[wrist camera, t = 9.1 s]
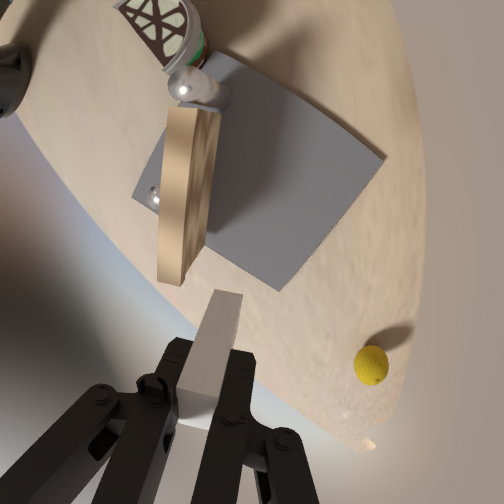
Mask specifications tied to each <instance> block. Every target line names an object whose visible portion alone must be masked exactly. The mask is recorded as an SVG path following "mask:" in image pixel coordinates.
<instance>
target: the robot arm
mask: <svg viewBox="0 0 504 504" xmlns="http://www.w3.org/2000/svg"><path fill="white" fill-rule="evenodd" d="M12 2H13V0H0V20H1V18H2V17H3V15H4V13H5V12H6V10H7V8H8V7H9V5H10V4H12ZM30 72H31V54H30V50H29V48H28V47H27V46H26V45H25V44H22V43H10V44H7V45H3V46H0V119H1V118H6V117H8V116H10V115H11V114H12V113H13V112H14V111H15V110H16V108H17V107H18V105H19V104H20V102H21V100H22V98H23V96H24V94H25V91H26V88H27V85H28V81H29V77H30ZM242 298H243V295H242V294H237V293H232V292H227V291H222V290H217V289H215V290H214V292H213V294H212V297H211V299H210V302H209V304H208V307H207V309H206V312H205V314H204V317H203V319H202V322H201V324H200V327H199V329H198V332H197V334H196V337H195V340H194V341H190V340H186V339H182V338H178V337H176V338H175V339H174V340H172V341H171V342H170V343H169V344H168V346H167V348H166V350H165V353H164V354H163V356H162V359H161V360H160V362H159V364H158V366H157V368H156V371H155V373H150V374H145V375H143V376H141V377H140V378H139V379H138V380H137V381H136V384H137V388H138V392H136V393H120V392H116V390H115V389H114V388H113V387H112V386H109V385H107V384H96V385H94V386H92V387H91V388H89V389H88V390H87V391H86V392H85V393H84V394H83V395H82V396H81V397H80V398H79V399H78V400H77V401H76V402H75V403H74V404H73V405H72V406H71V407H70V408H69V409H68V410H67V411H66V412H65V413H64V414H63V415H62V416H61V417H60V418H59V419H58V420H57V421H56V422H55V423H54V424H53V425H52V426H51V427H50V428H49V429H48V430H47V431H46V432H45V433H44V434H43V435H42V436H41V437H40V438H39V439H38V440H37V441H36V442H35V443H34V444H33V445H32V446H31V447H30V448H29V449H28V450H27V451H26V452H25V453H24V454H23V455H22V456H21V457H20V458H19V459H18V460H17V461H16V462H15V463H14V464H13V466H11V467H10V468H9V469H8V470H7V472H6V473H5V474H4V475H3V476H2V477H1V478H0V504H71V503H72V501H73V500H74V499H75V498H76V497H77V495H78V494H79V493H80V492H81V491H82V490H83V488H84V487H85V486H86V485H87V484H88V483H89V481H90V480H91V479H92V478H93V477H94V475H95V474H96V473H97V472H98V470H99V469H100V468H101V467H102V466H103V465H104V463H105V462H106V461H107V460H108V458H109V457H110V456H111V457H110V459H109V462H108V464H107V467H106V469H105V471H104V473H103V476H102V478H101V481H100V483H99V486H98V488H97V490H96V493H95V495H94V498H93V500H92V503H91V504H153V503H154V500H155V496H156V493H157V490H158V487H159V483H160V480H161V477H162V474H163V471H164V468H165V465H166V461H167V458H168V455H169V452H170V449H171V446H172V443H173V439H174V436H175V430H176V429H175V426H176V424H177V420H178V422H179V423H181V424H185V425H189V426H193V427H197V428H201V429H205V430H209V432H208V436H207V440H206V444H205V448H204V452H203V456H202V460H201V464H200V468H199V472H198V476H197V480H196V484H195V489H194V492H193V496H192V500H191V504H236V502H237V496H238V490H239V484H240V478H241V471H242V465H243V464H244V465H246V466H248V467H250V468H253V469H254V475H255V480H256V487H257V492H258V498H259V504H319V500H318V497H317V494H316V490H315V486H314V483H313V479H312V475H311V472H310V468H309V465H308V461H307V457H306V454H305V450H304V447H303V443H302V440H301V438H300V436H299V434H298V433H296V432H295V431H294V430H292V429H289V428H285V427H279V428H275V429H271V428H269V427H267V426H264V425H262V424H260V423H259V422H257V421H256V420H255V419H254V417H253V416H252V414H251V411H250V403H251V396H252V389H253V382H254V375H255V367H256V360H255V358H254V355H253V353H250V352H245V351H240V350H235V349H233V346H234V341H235V337H236V333H237V327H238V321H239V315H240V309H241V303H242Z"/></svg>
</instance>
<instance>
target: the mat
mask: <svg viewBox="0 0 504 504" xmlns="http://www.w3.org/2000/svg"><path fill="white" fill-rule="evenodd" d="M201 71H203V72H204V73H206V74H208V75H209V76H211V77H212V78H214V79H215V80H217V81H218V82H220V83H221V84H223V85H224V86H226V87H227V88H228V89H230V91H231V92H232V95H233V99H232V102H231V104H230V105H229V106H228V107H227V108H225V109H223V110H216V109H212V108H208V107H205V106H201V105H196V104H192V103H188V102H184V101H181V102H180V104H179V106H178V107H185V108H198V109H203V110H206V111H210V112H215V113H219V114H222V117H221V124H220V130H219V136H218V143H217V150H216V157H215V164H214V171H213V179H212V187H211V194H210V203H209V211H208V220H207V229H206V238H205V246H207V247H209V248H210V249H212V250H213V251H215V252H216V253H218V254H220V255H221V256H223V257H224V258H226V259H227V260H229V261H231V262H232V263H234V264H235V265H237V266H238V267H240V268H242V269H243V270H245V271H246V272H248V273H250V274H251V275H253V276H254V277H256V278H257V279H259V280H261V281H262V282H264V283H265V284H267V285H269V286H270V287H272V288H274V289H275V290H277V291H278V292H280V291H281V289H282V288H283V287H284V286H285V285H286V284H287V282H288V281H289V280H290V279H291V278H292V276H293V275H294V274H295V273H296V272H297V271H298V269H299V268H300V267H301V266H302V265H303V263H304V262H305V261H306V260H307V259H308V257H309V256H310V255H311V254H312V253H313V251H314V250H315V249H316V248H317V246H318V245H319V244H320V243H321V242H322V240H323V239H324V238H325V237H326V235H327V234H328V233H329V232H330V230H331V229H332V228H333V227H334V225H335V224H336V223H337V222H338V220H339V219H340V218H341V217H342V215H343V214H344V213H345V212H346V210H347V209H348V208H349V207H350V205H351V204H352V203H353V201H354V200H355V199H356V198H357V196H358V195H359V194H360V192H361V191H362V190H363V188H364V187H365V186H366V184H367V183H368V182H369V181H370V179H371V178H372V177H373V175H374V174H375V173H376V171H377V170H378V169H379V167H380V166H381V165H382V163H383V162H384V161H382V160H381V159H380V158H379V157H378V156H377V155H376V154H374V153H373V152H372V151H371V150H370V149H368V148H367V147H366V146H365V145H364V144H362V143H361V142H360V141H359V140H357V139H356V138H355V137H354V136H352V135H351V134H350V133H349V132H347V131H346V130H345V129H343V128H342V127H341V126H339V125H338V124H337V123H335V122H334V121H333V120H331V119H330V118H329V117H327V116H326V115H324V114H323V113H322V112H320V111H319V110H317V109H316V108H315V107H313V106H312V105H310V104H309V103H307V102H306V101H304V100H303V99H301V98H300V97H298V96H297V95H295V94H294V93H292V92H290V91H289V90H287V89H286V88H284V87H282V86H281V85H279V84H278V83H276V82H274V81H273V80H271V79H269V78H268V77H266V76H264V75H262V74H261V73H259V72H257V71H255V70H253V69H252V68H250V67H248V66H246V65H244V64H242V63H241V62H239V61H237V60H235V59H233V58H231V57H229V56H227V55H225V54H223V53H221V52H219V51H217V50H214V52H213V53H212V55H211V56H210V57H209V59H208V60H207V62H206V63H205V65H204V66H203V68H202V69H201ZM165 134H166V128H165V130H164V132H163V134H162V136H161V137H160V139H159V141H158V143H157V145H156V147H155V149H154V151H153V153H152V155H151V157H150V159H149V161H148V163H147V165H146V167H145V169H144V171H143V173H142V175H141V177H140V179H139V181H138V184H137V186H136V188H135V190H134V192H133V195H132V198H133V199H135V200H136V201H138V202H139V203H141V204H142V205H144V206H146V207H147V208H149V209H150V210H152V211H153V212H155V213H156V214H158V215H159V210H155V209H153V208H151V207H150V206H149V204H148V203H147V199H146V195H147V192H148V190H149V189H150V188H151V187H153V186H155V185H157V184H159V183H161V174H162V163H163V152H164V143H165Z"/></svg>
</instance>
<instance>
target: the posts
mask: <svg viewBox="0 0 504 504" xmlns="http://www.w3.org/2000/svg"><path fill="white" fill-rule="evenodd" d="M168 90H169V93H170V94H171V96H172V97H173V98H175V99H177V100H179V101H184V102H188V103H192V104H196V105H201V106H205V107H208V108H212V109H216V110H223V109H225V108H227V107H228V106H229V105H230V104H231V102H232V99H233V95H232V92H231V91H230V89H228V88H227V87H226V86H224V85H223V84H221V83H220V82H218V81H217V80H215V79H214V78H212V77H211V76H209V75H208V74H206V73H204V72H203V71H201V70H200V69H198V68H196V67H194V66H182V67H180V68H178V69H176V70H175V71H174V72H173V73H172V74H171V76H170V78H169V81H168ZM160 186H161V183H159V184H157V185H155V186H153V187H151V188H150V189H149V190H148V192H147V195H146V199H147V203H148V204H149V206H150V207H151V208H153V209H155V210H159V201H160Z"/></svg>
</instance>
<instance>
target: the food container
mask: <svg viewBox="0 0 504 504" xmlns="http://www.w3.org/2000/svg"><path fill="white" fill-rule="evenodd" d="M112 7H113V8H115V9H117V10H119V11H120V13H122V14H123V15H124V17H125V18H126V19H127V20H128V22H129V23H130V24H131V26H132V27H133V28H134V30H135V31H136V33H137V34H138V35H139V36H140V38H141V39H142V40H143V41H144V42H145V44H146V45H147V46H148V47H149V49H150V50H151V51H152V52H153V54H154V55H155V56H156V58H157V59H158V60H159V61H160V63H161V64H162V65H163V67H164V68H163V69H162V71H164V72H165V73H166V74H168V75H170V76H171V74H172V73H173V72H174V71H175V70H176V69H178V68H180V67H182V66H194V67H196V68H198V69H201V67H202V66H203V65H204V63H205V61H206V58H207V55H208V53H209V42H208V39H207V36H206V34H205V33H204V31H203V30H202V28H201V21H200V17H199V14H198V11H197V9H196V8H195V6H194V5H193V4H192V3H191V2H190V1H189V0H120V1H118V2H117V3H116V4H115V5H113V6H112Z"/></svg>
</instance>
